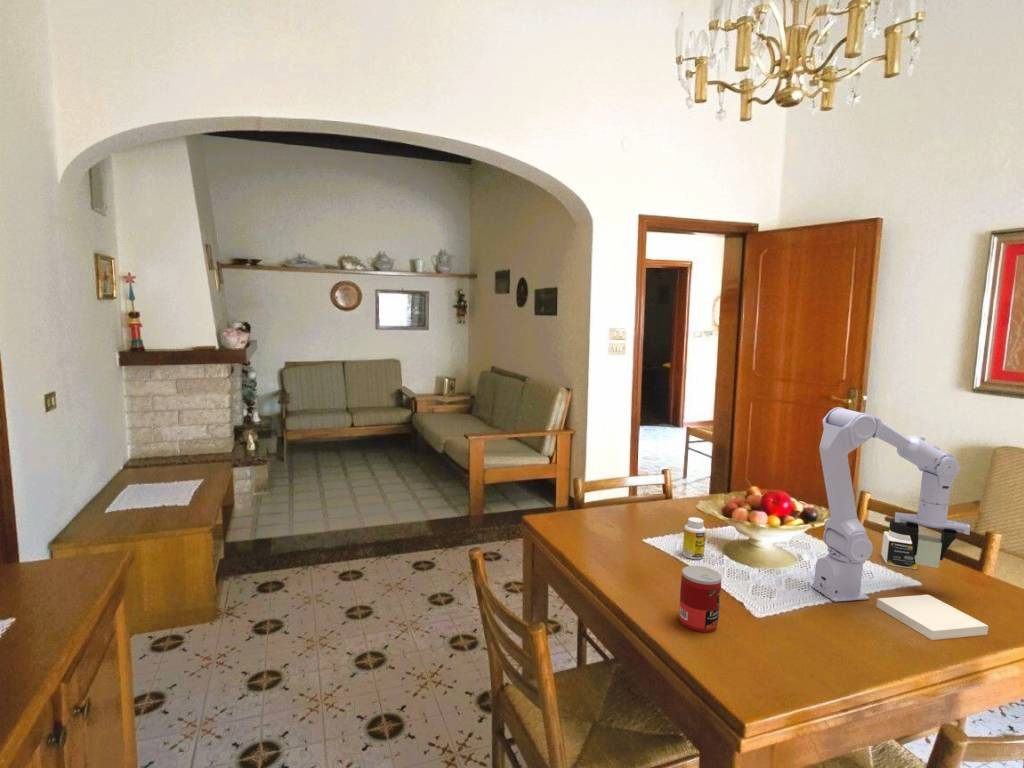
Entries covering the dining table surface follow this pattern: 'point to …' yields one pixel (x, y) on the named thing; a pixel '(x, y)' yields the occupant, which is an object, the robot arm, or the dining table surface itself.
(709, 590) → the canned food
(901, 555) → the medicine bottle
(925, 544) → the sage block
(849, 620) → the dining table surface
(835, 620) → the dining table surface
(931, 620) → the cream slab
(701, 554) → the supplement bottle
